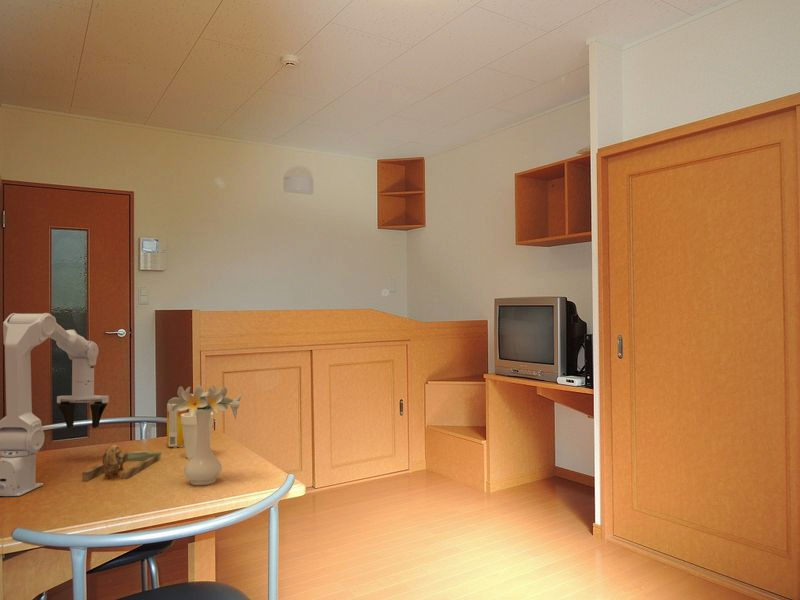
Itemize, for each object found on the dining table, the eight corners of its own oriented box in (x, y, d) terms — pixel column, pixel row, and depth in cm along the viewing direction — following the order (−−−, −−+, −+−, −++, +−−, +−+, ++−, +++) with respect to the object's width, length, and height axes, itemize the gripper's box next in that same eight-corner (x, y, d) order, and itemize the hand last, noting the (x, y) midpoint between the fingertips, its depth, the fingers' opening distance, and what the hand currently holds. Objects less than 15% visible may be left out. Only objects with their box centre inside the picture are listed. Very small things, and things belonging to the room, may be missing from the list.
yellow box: (189, 444, 196) (189, 399, 197) (183, 448, 190) (183, 401, 191) (170, 444, 196) (171, 399, 196) (164, 448, 190) (164, 402, 190)
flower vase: (246, 483, 151) (246, 385, 151) (169, 493, 143) (169, 390, 143) (237, 471, 162) (237, 380, 163) (165, 479, 154) (166, 384, 155)
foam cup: (197, 452, 185) (197, 410, 185) (219, 455, 181) (219, 412, 181) (173, 458, 177) (173, 415, 177) (196, 462, 173) (196, 417, 173)
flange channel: (123, 481, 153) (123, 471, 153) (82, 480, 153) (82, 471, 153) (160, 459, 176) (160, 451, 176) (125, 459, 176) (125, 451, 176)
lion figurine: (125, 480, 154) (125, 445, 154) (102, 482, 152) (102, 447, 152) (123, 467, 167) (123, 435, 168) (102, 469, 165) (103, 437, 165)
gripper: (114, 379, 178) (113, 424, 177) (67, 379, 178) (66, 424, 178) (101, 382, 171) (101, 429, 170) (52, 382, 171) (52, 429, 171)
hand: (82, 427), depth 174 cm, fingers open, 7 cm apart
